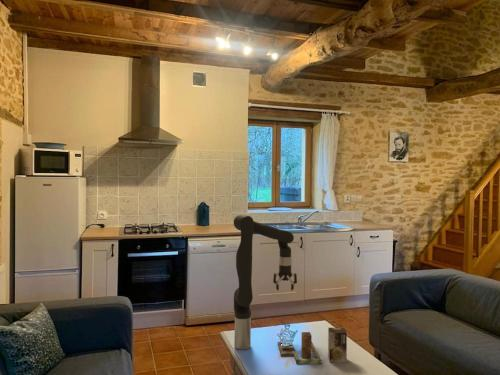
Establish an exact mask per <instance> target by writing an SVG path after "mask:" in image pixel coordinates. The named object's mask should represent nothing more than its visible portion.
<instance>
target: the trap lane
mask: <svg viewBox="0 0 500 375" xmlns="http://www.w3.org/2000/svg"><path fill="white" fill-rule="evenodd" d="M281 344H282V343H281V341H277V347H278V351H279V354H280V357H293V359H294V361H295V364H296V365H310V364H311V365H313V364H314V365H320V364H321V365H322V358H321V356H320V355H319V353H318V351H317V349H316V347H315V345H314V343H313V342H312V343H311V352H312V353H313V355H314V358H311V359H302V358H299V355H298V353H297V351H296V350H295V346H293V345H290V346H281Z"/></svg>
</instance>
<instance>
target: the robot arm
mask: <svg viewBox="0 0 500 375" xmlns="http://www.w3.org/2000/svg"><path fill="white" fill-rule="evenodd" d="M233 226H234V228H235V229H237V230H238V231H240V243H239V246H238V247H237V250H236V254H235V268H236V272H237V273H236V274H237V280H238V287H237V289H235V291H234V294H233V310H234V311H233V312H234V338H233V339H234V343H233V344H234V349H237V350H241V351H243V350H248V349H250V348H251V345H252V344H251V343H252V342H251V338H252V337H251V332H252V331H251V329H252V324H251V322H252V312H251V307H250V305H252V302H253V299H254V298H253V287H252V285H253V284H252V277H253V276H252V274H253V237H254V233H255V234H258V235H260V236H264V237H266V238H269V239H272V240H276V241H277V244H278V248H279V258H278V273H277V272H274V273H273V282H272V283H273V284H275V289H276V290H277V291H279V290H280V289H279V287H280V283H281V282H283V281H284V282H285V281H287V282H288V281H289V282H290V290H291V292H292V291H293V290H294V289H295V287H294V286H295V285H296V284H297V283H298V281H297V280H298V278H297V275H298V274H297V273H296V272H293V273H292V248H291V246H289V244H291V243H293V241H294V238H295V237H294V233H292V232H291V231H287V230H284V229H280V228H278V227H275V226H273V225H269V224H266V223H261V222H257V221H255V220H254V218H253V217H252V216H251V215H248V214H237V215H236V217H234V219H233ZM277 277H278V278H277ZM292 277H293V279H294V280H293V279H291V278H292Z"/></svg>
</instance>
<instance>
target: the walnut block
mask: <svg viewBox="0 0 500 375" xmlns="http://www.w3.org/2000/svg"><path fill="white" fill-rule="evenodd" d="M312 339H313V338H312V333H311V332H310V331H308V332H307V331H302V332H301V345H300V347H301V351H300V354H301V356H300V357H301V359H312V349H311V343H313V340H312Z"/></svg>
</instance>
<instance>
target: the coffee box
mask: <svg viewBox="0 0 500 375" xmlns="http://www.w3.org/2000/svg"><path fill="white" fill-rule="evenodd" d="M327 329H328V330H327V331H328V336H327V338H328V339H327V341H328V342H327V344H328V345H327V348H328V349H327V350H328V352H327V357H328V362H329V363H338V364H339V363H344V364H347V363H348V362H347V359H348V358H347V355H348V354H347V350H348V344H347V342H348V339H347V338H348V336H347V334H348V333H347V330H346V328H345V327H328V328H327Z"/></svg>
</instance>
